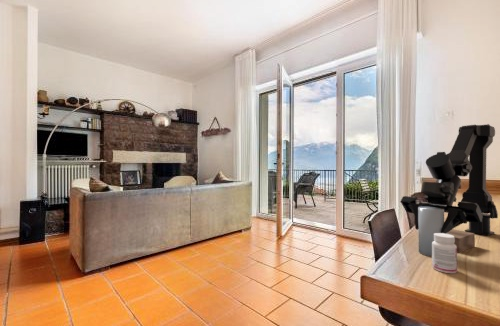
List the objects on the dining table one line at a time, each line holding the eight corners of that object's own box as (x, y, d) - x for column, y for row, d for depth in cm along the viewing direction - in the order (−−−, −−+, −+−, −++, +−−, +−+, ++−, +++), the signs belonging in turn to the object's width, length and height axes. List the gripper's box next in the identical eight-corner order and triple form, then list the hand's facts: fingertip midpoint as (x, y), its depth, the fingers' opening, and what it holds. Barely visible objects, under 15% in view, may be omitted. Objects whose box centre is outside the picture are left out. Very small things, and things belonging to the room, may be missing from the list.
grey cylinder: (425, 248, 73) (424, 205, 74) (448, 254, 68) (448, 208, 68) (414, 252, 71) (413, 207, 71) (438, 259, 65) (437, 211, 65)
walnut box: (437, 237, 84) (437, 226, 84) (474, 246, 75) (474, 233, 75) (421, 242, 79) (421, 230, 79) (459, 252, 70) (459, 238, 70)
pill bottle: (462, 274, 56) (461, 238, 56) (438, 273, 57) (438, 237, 57) (449, 266, 61) (449, 232, 61) (428, 264, 62) (427, 231, 62)
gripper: (402, 171, 80) (384, 208, 74) (478, 172, 64) (461, 220, 58) (415, 193, 84) (398, 230, 78) (488, 200, 68) (474, 246, 62)
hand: (428, 231), depth 69 cm, fingers closed on grey cylinder, 6 cm apart
